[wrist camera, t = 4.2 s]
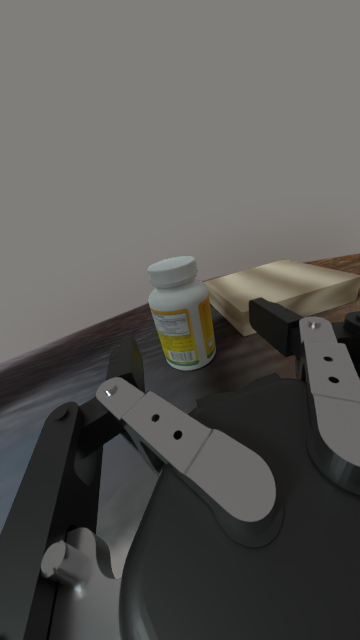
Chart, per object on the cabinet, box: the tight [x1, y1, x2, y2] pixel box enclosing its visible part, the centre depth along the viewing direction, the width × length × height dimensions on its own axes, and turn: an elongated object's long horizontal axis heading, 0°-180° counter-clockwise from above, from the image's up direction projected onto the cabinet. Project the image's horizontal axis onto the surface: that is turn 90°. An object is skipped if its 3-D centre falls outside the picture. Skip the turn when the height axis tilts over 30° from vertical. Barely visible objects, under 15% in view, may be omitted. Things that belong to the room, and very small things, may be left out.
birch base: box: [204, 259, 360, 337], centre depth 26 cm, size 14×12×3 cm
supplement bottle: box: [147, 256, 216, 371], centre depth 18 cm, size 5×5×10 cm
